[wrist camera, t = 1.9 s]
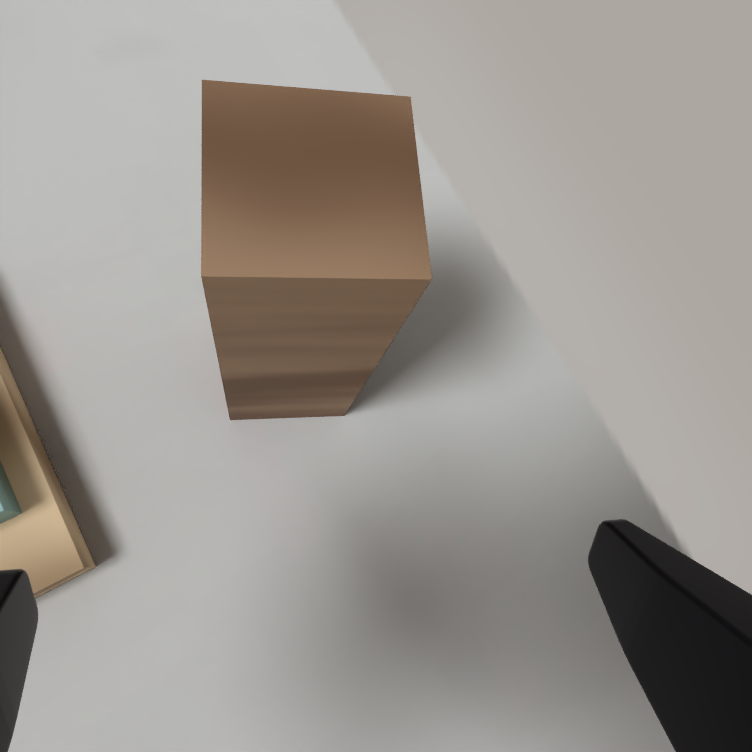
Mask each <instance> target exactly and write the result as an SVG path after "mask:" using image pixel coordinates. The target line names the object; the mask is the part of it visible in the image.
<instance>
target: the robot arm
mask: <svg viewBox="0 0 752 752" xmlns="http://www.w3.org/2000/svg"><path fill="white" fill-rule="evenodd" d="M588 563H589V568H590V571H591V574H592V576H593V578H594V581H595V583H596V586H597V588H598V591H599V593H600V596H601V598H602V601H603V603H604V605H605V608H606V610H607V613H608V615H609V618H610V620H611V623H612V625H613V628H614V630H615V632H616V635H617V637H618V640H619V642H620V644H621V646H622V649H623V651H624V653H625V655H626V657H627V659H628V661H629V663H630V665H631V667H632V669H633V671H634V673H635V675H636V677H637V679H638V681H639V683H640V685H641V686H642V688H643V690H644V692H645V694H646V696H647V698H648V700H649V702H650V704H651V706H652V708H653V709H654V711H655V713H656V715H657V717H658V719H659V721H660V723H661V725H662V727H663V729H664V730H665V732H666V734H667V736H668V738H669V740H670V742H671V744H672V746H673V748H674V750H675V751H676V752H752V595H751V594H749V593H748V592H746V591H744V590H742V589H741V588H739V587H738V586H736V585H734V584H733V583H731V582H729V581H728V580H726V579H724V578H723V577H721V576H719V575H718V574H716V573H714V572H713V571H711V570H709V569H707V568H706V567H704V566H702V565H701V564H699V563H697V562H696V561H694V560H692V559H691V558H689V557H687V556H686V555H684V554H682V553H681V552H679V551H677V550H676V549H674V548H672V547H671V546H669V545H667V544H666V543H664V542H662V541H661V540H659V539H657V538H656V537H654V536H652V535H651V534H649V533H647V532H646V531H644V530H642V529H641V528H639V527H637V526H636V525H634V524H632V523H631V522H629V521H627V520H622V519H620V520H607V521H603V522H602V523H601V524H600V525H599V527H598V529H597V532H596V535H595V538H594V541H593V544H592V546H591V549H590V552H589V557H588ZM37 623H38V608H37V604H36V601H35V597H34V594H33V590H32V587H31V583H30V579H29V576H28V574H27V572H26V571H25V570H23V569H12V570H0V752H8V749H9V746H10V743H11V739H12V736H13V732H14V728H15V724H16V719H17V715H18V711H19V706H20V701H21V697H22V692H23V688H24V683H25V679H26V674H27V670H28V665H29V660H30V656H31V651H32V647H33V642H34V638H35V633H36V629H37Z"/></svg>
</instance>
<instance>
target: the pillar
mask: <svg viewBox="0 0 752 752" xmlns="http://www.w3.org/2000/svg"><path fill="white" fill-rule="evenodd" d="M201 277H202V282H203V287H204V292H205V297H206V302H207V307H208V312H209V317H210V322H211V327H212V332H213V337H214V342H215V347H216V352H217V357H218V362H219V367H220V372H221V377H222V382H223V387H224V392H225V397H226V402H227V407H228V412H229V417H230V420H242V419H269V418H296V417H323V416H344V415H345V414H346V412H347V411H348V409H349V408H350V406H351V404H352V403H353V401H354V400H355V398H356V397H357V395H358V394H359V392H360V390H361V389H362V387H363V386H364V384H365V383H366V381H367V380H368V378H369V376H370V375H371V373H372V372H373V370H374V369H375V367H376V366H377V364H378V362H379V361H380V359H381V358H382V356H383V355H384V353H385V352H386V350H387V348H388V347H389V345H390V344H391V342H392V341H393V339H394V338H395V336H396V334H397V333H398V331H399V330H400V328H401V327H402V325H403V324H404V322H405V320H406V319H407V317H408V316H409V314H410V313H411V311H412V310H413V308H414V307H415V305H416V303H417V302H418V300H419V299H420V297H421V296H422V294H423V293H424V291H425V289H426V288H427V286H428V285H429V283H430V282H431V280H432V276H431V268H430V259H429V251H428V242H427V234H426V225H425V217H424V208H423V200H422V191H421V183H420V174H419V166H418V157H417V149H416V140H415V132H414V123H413V114H412V106H411V97H406V96H394V95H382V94H370V93H357V92H345V91H333V90H321V89H308V88H296V87H284V86H272V85H259V84H247V83H235V82H223V81H210V80H202V251H201Z"/></svg>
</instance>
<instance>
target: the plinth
mask: <svg viewBox="0 0 752 752" xmlns="http://www.w3.org/2000/svg"><path fill="white" fill-rule="evenodd" d="M94 567H96V566H95V563H94V561H93V559H92V556H91V554H90V552H89V549H88V547H87V545H86V543H85V540H84V538H83V536H82V533H81V531H80V529H79V527H78V524H77V522H76V520H75V517H74V515H73V513H72V510H71V508H70V506H69V504H68V501H67V499H66V497H65V494H64V492H63V490H62V487H61V485H60V483H59V481H58V478H57V476H56V474H55V471H54V469H53V467H52V465H51V462H50V460H49V458H48V455H47V453H46V451H45V448H44V446H43V444H42V442H41V439H40V437H39V435H38V432H37V430H36V428H35V426H34V423H33V421H32V419H31V416H30V414H29V412H28V409H27V407H26V405H25V403H24V400H23V398H22V396H21V393H20V391H19V389H18V386H17V384H16V382H15V380H14V377H13V375H12V373H11V370H10V368H9V366H8V364H7V361H6V359H5V357H4V354H3V352H2V350H1V347H0V570H12V569H23V570H25V571H26V572H27V574H28V576H29V579H30V583H31V587H32V590H33V594H34V597H35V598H36V597H38V596H40V595H42V594H44V593H46V592H48V591H50V590H52V589H54V588H56V587H58V586H59V585H61V584H63V583H65V582H67V581H69V580H71V579H73V578H75V577H77V576H79V575H81V574H83V573H85V572H87V571H89V570H91V569H92V568H94Z"/></svg>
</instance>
